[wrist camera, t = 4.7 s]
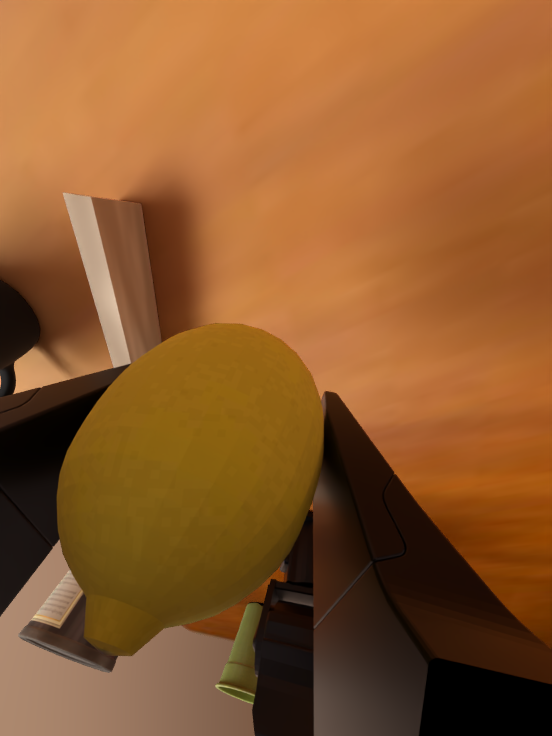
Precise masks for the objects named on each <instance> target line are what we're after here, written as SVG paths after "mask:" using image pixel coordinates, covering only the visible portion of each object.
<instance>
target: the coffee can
mask: <svg viewBox="0 0 552 736" xmlns="http://www.w3.org/2000/svg"><path fill="white" fill-rule="evenodd" d="M85 612H86V596H85V594H84V593H83V591H82V589H81V588H80V586H79V585H78V583H77V581H76V580H75V578H74V577H73V575H72V573H71V570H69V571H68V573H67V574H66V575H65V577H64V578H63V579H62V581H61V582H60V583H59V585H58V586H57V587H56V588H55V590H54V591H53V592H52V594H51V595H50V596H49V597H48V599H47V600H46V601H45V603H44V604H43V605H42V607H41V608H40V609H39V611H38V612H37V613H36V615H35V616H34V617H33V619H32V620H31V621H30V622H29V624H28V625H27V626H25V627H24V629H23V630H22V631H21V632H20V633H19V635H18V636H19V637H20V638H21V639H23V640H25V641H27V642H29V643H31V644H33V645H35V646H38V647H40V648H42V649H44V650H47V651H49V652H52V653H54V654H56V655H59V656H62V657H64V658H67V659H69V660H72V661H74V662H77V663H80V664H83V665H85V666H88V667H91V668H94V669H98V670H100V671H104V672H108V673H109V672H111V671H112V670H113V668H114V665H115V663H116V659H117V657H118V656H112V655H103V654H102V653H100V652H99V651H98V650H97V649H96V648H95V647H94V646H93V645H92V644H90V643H89V642H88V641H87V640H86V639H85V638H84V627H85Z"/></svg>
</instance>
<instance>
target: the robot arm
mask: <svg viewBox="0 0 552 736" xmlns="http://www.w3.org/2000/svg"><path fill="white" fill-rule="evenodd" d="M131 364H132V363H131ZM131 364H127V365H123V366H119V367H115V368H112V369H108V370H104V371H100V372H96V373H93V374H89V375H85V376H81V377H77V378H74V379H70V380H66V381H62V382H59V383H55V384H51V385H47V386H43V387H42V388H36V389H32V390H28V391H24V392H20V393H16V394H12V395H8V396H5V397H1V398H0V616H1V615H2V614H3V612H4V611H5V610H6V608H7V607H8V606H9V604H10V603H11V602H12V601H13V599H14V598H15V597H16V595H17V594H18V593H19V591H20V590H21V589H22V588H23V586H24V585H25V584H26V582H27V581H28V580H29V578H30V577H31V576H32V574H33V573H34V572H35V571H36V569H37V568H38V566H39V565H40V564H41V563H42V562H43V560H44V559H45V558H46V556H47V555H48V554H49V552H50V551H51V550H52V548H53V546H55V544H56V543H57V542H58V540H59V539H60V538H59V533H58V523H57V490H58V482H59V475H60V471H61V468H62V465H63V462H64V459H65V456H66V453H67V450H68V448H69V447H70V445H71V443H72V441H73V439H74V437H75V435H76V433H77V432H78V430H79V428H80V427H81V425H82V424H83V422H84V420H85V419H86V417H87V416H88V414H89V413H90V412H91V410H92V409H93V407H94V406H95V404H96V403H97V401H98V400H99V399H100V397H101V396H102V395H103V394H104V392H105V391H106V390H107V389H108V387H109V386H110V385H111V384H112V383H113V382H114V381H115V380H116V379H117V377H118V376H119V375H120V374H121V373H122V372H123V371H124V370H125V369H127V368H128V367H129V366H130V365H131ZM321 403H322V408H323V418H324V453H323V462H322V468H321V473H320V477H319V481H318V485H317V488H316V491H315V495H314V498H313V514H312V513H308V514H307V516H306V519H305V521H304V524H303V526H302V529H301V531H300V534H299V536H298V538H297V540H296V542H295V543H294V545H293V547H292V549H291V551H290V553H289V554H288V555H287V557H286V558H285V559H284V561H283V562H282V564H281V565H280V570H281V572H285V574H284V582H280V581H277V580H275V579H271V581H270V585H268V589H267V593H266V597H265V601H264V605H263V609H262V613H261V617H260V620H259V623H258V626H257V629H256V632H255V635H254V638H253V644H252V646H253V649H254V652H255V664H254V665H255V675H256V677H258V678H257V686H256V692H255V698H254V703H253V709H252V713H253V723H254V731H255V736H552V648H550V647H549V646H548V645H546V644H545V643H544V642H543V641H542V640H540V639H539V638H538V637H537V636H535V635H534V634H533V633H532V632H531V631H530V630H529V629H528V628H527V627H525V626H524V625H523V624H522V623H521V622H520V621H519V620H518V619H517V618H516V617H515V616H514V615H513V614H512V613H511V612H510V611H509V610H508V609H507V608H506V607H505V606H504V604H503V603H502V602H501V601H500V600H499V599H498V598H497V597H496V596H495V594H494V593H493V592H492V591H491V590H490V589H489V587H488V586H487V585H486V584H485V583H484V581H483V580H482V579H481V578H480V577H479V576H478V574H477V573H476V572H475V571H474V570H473V569H472V567H471V566H470V565H469V564H468V563H467V562H466V560H465V559H464V558H463V557H462V556H461V555H460V553H459V552H458V551H457V550H456V549H455V547H454V546H453V545H452V544H451V543H450V542H449V540H448V539H447V538H446V537H445V536H444V535H443V533H442V532H441V531H440V530H439V529H438V527H437V526H436V525H435V524H434V523H433V521H432V520H431V519H430V518H429V517H428V515H427V514H426V513H425V512H424V510H423V509H422V508H421V507H420V506H419V504H418V503H417V502H416V500H415V499H414V498H413V496H412V495H411V494H410V492H409V491H408V490H407V489H406V487H405V486H404V485H403V483H402V482H401V480H400V479H399V478H398V476H397V475H396V474H394V471H393V470H392V468H391V467H390V466H389V464H388V463H387V461H386V460H385V459H384V457H383V456H382V455H381V453H380V452H379V450H378V449H377V448H376V446H375V445H374V444H373V442H372V441H371V439H370V438H369V437H368V435H367V434H366V433H365V431H364V430H363V429H362V427H361V426H360V424H359V423H358V422H357V420H356V419H355V418H354V416H353V415H352V413H351V412H350V411H349V409H348V408H347V407H346V405H345V404H344V403H343V401H342V400H341V398H340V397H339V396H338V394H337V393H334V392H329V391H325V392H324V394H323V397H322V400H321Z"/></svg>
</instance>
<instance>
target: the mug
mask: <svg viewBox="0 0 552 736" xmlns="http://www.w3.org/2000/svg"><path fill="white" fill-rule="evenodd" d="M39 335H40V328H39V324H38V321H37V318H36V316H35V314H34V313H33V311H32V309H31V308H30V306H29V305H28V304H27V302H26V301H25V300H24V299H23V298H22V297H21V296H20V295H19V294H18V293H17V292H16V291H15V290H14V289H13V288H11V287H10V286H9V285H7V284H6V283H4V282H3V281H1V280H0V376H1V387H0V398H1V397H5V396H8V395H12V394H13V393H14V390H15V386H16V376H15V371H14V362H15V361H16V360H17V359H19V358H20V357H22V356H23V355H24V354H26V353H27V352H28V351H29V350H30V349H31V348H32V347H33V346H34V345H35V344H36V342H37V341H38V339H39Z"/></svg>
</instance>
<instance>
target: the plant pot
mask: <svg viewBox="0 0 552 736" xmlns="http://www.w3.org/2000/svg"><path fill="white" fill-rule="evenodd" d="M262 609H263V606H261V605H260V604H258V603H255V602H254V603H249V604H248V605H247V607H246V610H245V613H244V616H243V619H242V622H241V625H240V628H239V631H238V633H237V636H236V639H235V642H234V645H233V648H232V651H231V654H230V657H229V660H228V662H227V663H226V665H225V668H224V671H223V674H222V677H221V679H220V682H219V683H217V684H216V688H217V689H219V690H221V691H222V692H224V693H227V694H229V695H231V696H233V697H235V698H238V699H241V700H243V701H246V702H248V703H252V704H253V703H254V698H255V692H256V686H257V678H258V677H256V675H255V665H254V664H255V652H254V649H253V646H252V644H253V638H254V635H255V632H256V629H257V626H258V623H259V620H260V617H261V613H262Z"/></svg>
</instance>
